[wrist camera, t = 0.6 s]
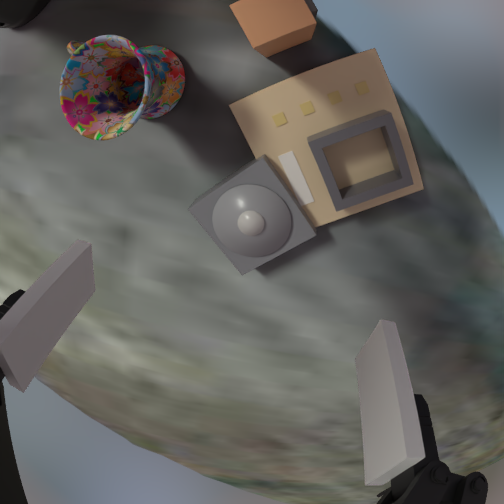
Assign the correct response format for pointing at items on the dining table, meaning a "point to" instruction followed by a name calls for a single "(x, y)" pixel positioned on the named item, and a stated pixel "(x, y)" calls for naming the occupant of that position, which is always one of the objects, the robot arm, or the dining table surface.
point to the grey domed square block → (253, 215)
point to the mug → (117, 85)
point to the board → (334, 137)
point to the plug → (276, 23)
